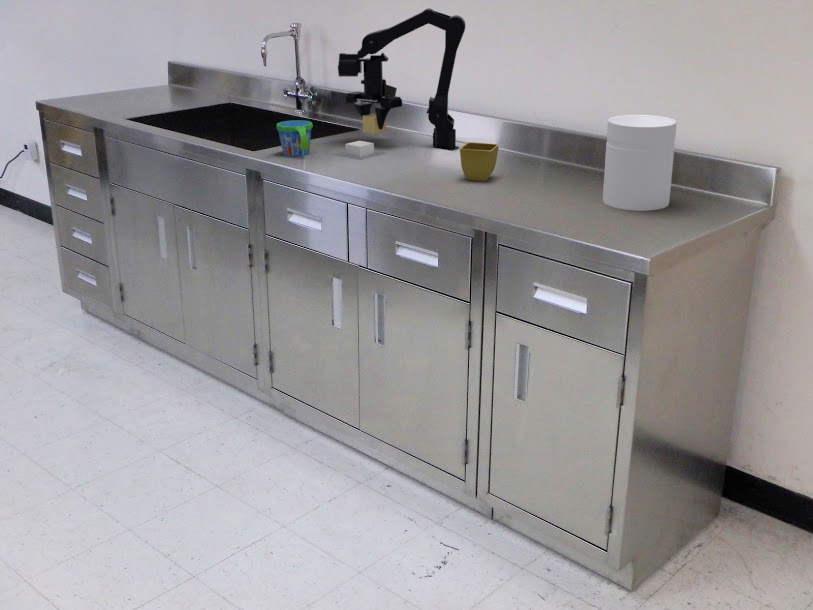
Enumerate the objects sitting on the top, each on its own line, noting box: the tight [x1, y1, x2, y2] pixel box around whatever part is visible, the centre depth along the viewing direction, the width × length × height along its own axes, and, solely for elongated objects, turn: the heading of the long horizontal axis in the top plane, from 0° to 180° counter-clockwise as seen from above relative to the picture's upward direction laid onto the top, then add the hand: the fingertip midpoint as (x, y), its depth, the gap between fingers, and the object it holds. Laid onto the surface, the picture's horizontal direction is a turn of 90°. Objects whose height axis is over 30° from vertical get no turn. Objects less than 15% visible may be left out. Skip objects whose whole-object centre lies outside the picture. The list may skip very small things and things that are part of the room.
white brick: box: [344, 140, 375, 157], centre depth 282 cm, size 6×6×3 cm
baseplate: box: [331, 149, 387, 161], centre depth 283 cm, size 12×12×1 cm
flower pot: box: [459, 141, 499, 182], centre depth 255 cm, size 9×9×9 cm
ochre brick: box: [362, 112, 387, 135], centre depth 290 cm, size 5×5×5 cm
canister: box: [602, 114, 678, 212], centre depth 229 cm, size 16×16×20 cm
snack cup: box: [276, 119, 314, 158], centre depth 282 cm, size 16×10×10 cm
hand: (374, 128), depth 291 cm, fingers closed on ochre brick, 5 cm apart
